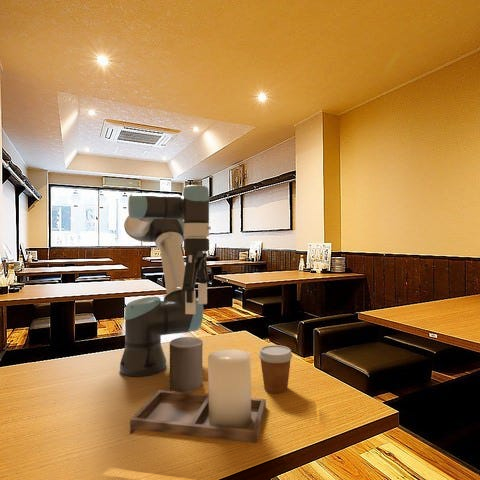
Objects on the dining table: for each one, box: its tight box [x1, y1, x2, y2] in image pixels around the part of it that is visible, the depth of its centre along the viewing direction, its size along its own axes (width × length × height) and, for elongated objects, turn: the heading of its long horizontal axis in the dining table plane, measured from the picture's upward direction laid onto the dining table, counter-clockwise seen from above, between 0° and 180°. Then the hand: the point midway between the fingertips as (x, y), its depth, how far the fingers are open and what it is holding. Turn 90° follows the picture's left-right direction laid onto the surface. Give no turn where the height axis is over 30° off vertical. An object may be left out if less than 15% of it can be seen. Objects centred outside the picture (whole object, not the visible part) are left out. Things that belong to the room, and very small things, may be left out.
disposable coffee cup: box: [258, 344, 293, 395], centre depth 95 cm, size 10×10×12 cm
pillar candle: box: [168, 336, 204, 393], centre depth 99 cm, size 10×10×15 cm
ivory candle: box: [207, 348, 252, 429], centre depth 79 cm, size 10×10×15 cm
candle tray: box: [129, 389, 267, 443], centre depth 80 cm, size 29×15×3 cm, turn 78°
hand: (197, 308), depth 101 cm, fingers open, 13 cm apart
